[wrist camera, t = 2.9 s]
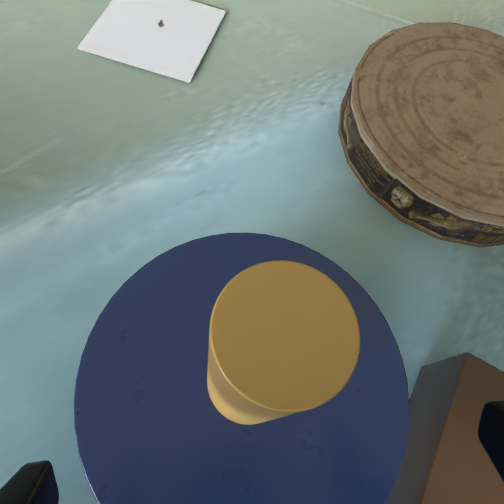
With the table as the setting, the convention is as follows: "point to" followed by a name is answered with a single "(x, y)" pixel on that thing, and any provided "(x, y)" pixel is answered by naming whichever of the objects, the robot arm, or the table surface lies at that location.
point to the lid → (241, 382)
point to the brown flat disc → (431, 129)
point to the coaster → (155, 35)
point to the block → (449, 436)
